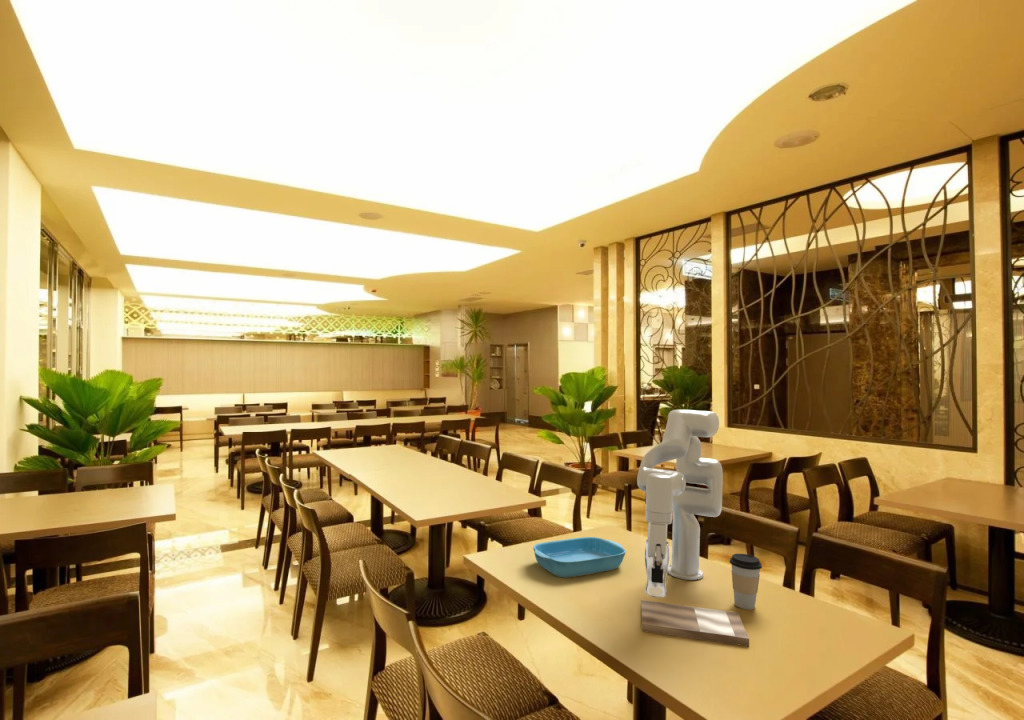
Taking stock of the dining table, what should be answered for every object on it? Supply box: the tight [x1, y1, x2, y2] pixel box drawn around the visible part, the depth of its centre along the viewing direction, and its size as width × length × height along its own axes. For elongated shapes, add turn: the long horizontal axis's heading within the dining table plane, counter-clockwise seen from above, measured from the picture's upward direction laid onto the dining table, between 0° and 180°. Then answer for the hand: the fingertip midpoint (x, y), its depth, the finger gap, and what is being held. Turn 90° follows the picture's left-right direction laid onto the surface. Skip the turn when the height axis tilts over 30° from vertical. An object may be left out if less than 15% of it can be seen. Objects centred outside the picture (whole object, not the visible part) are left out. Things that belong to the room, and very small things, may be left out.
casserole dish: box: [532, 536, 627, 578], centre depth 196 cm, size 37×22×7 cm, turn 119°
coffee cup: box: [729, 553, 763, 610], centre depth 167 cm, size 9×9×15 cm
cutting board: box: [640, 599, 750, 647], centre depth 152 cm, size 16×28×2 cm, turn 77°
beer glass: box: [644, 538, 670, 598], centre depth 155 cm, size 7×7×15 cm
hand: (656, 577), depth 155 cm, fingers closed on beer glass, 6 cm apart
